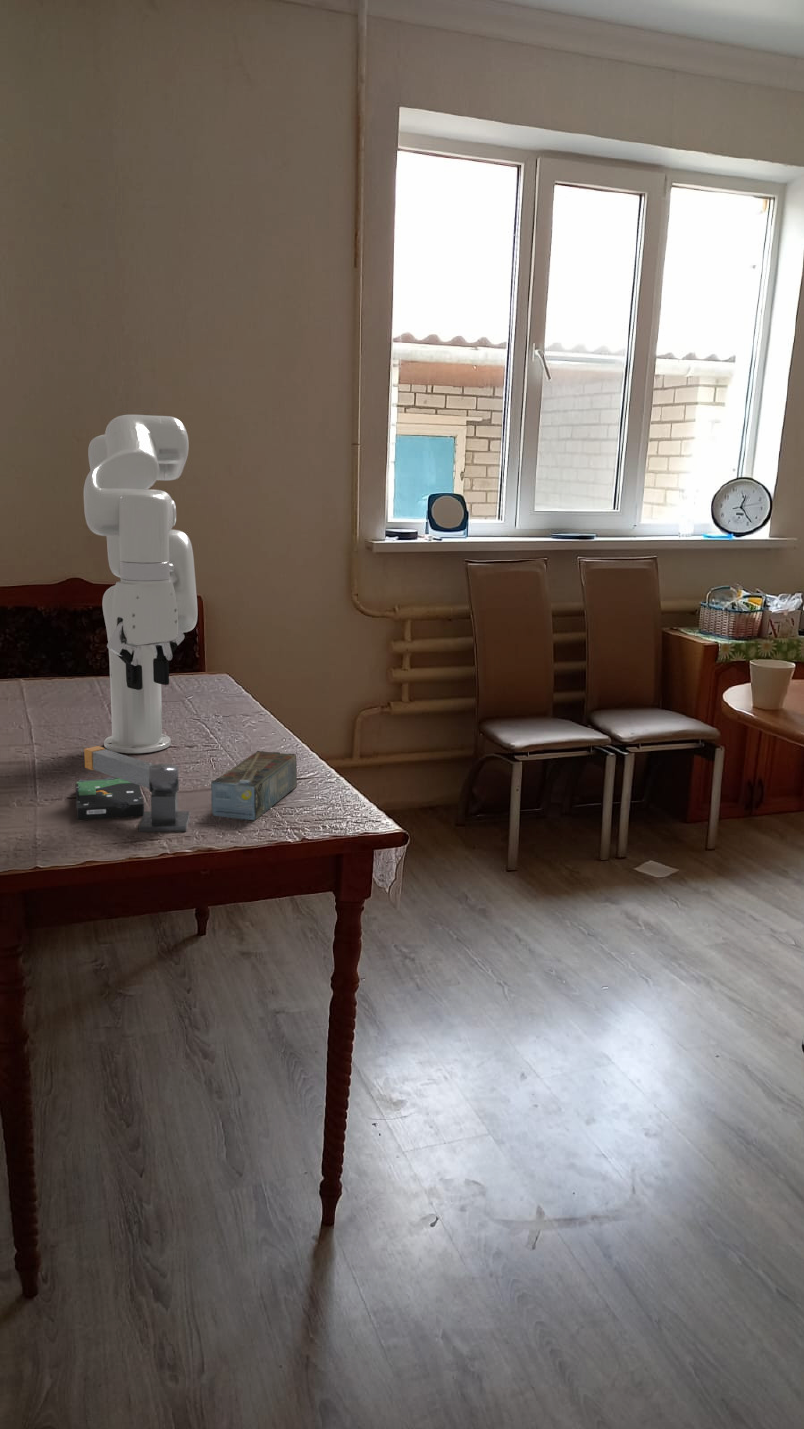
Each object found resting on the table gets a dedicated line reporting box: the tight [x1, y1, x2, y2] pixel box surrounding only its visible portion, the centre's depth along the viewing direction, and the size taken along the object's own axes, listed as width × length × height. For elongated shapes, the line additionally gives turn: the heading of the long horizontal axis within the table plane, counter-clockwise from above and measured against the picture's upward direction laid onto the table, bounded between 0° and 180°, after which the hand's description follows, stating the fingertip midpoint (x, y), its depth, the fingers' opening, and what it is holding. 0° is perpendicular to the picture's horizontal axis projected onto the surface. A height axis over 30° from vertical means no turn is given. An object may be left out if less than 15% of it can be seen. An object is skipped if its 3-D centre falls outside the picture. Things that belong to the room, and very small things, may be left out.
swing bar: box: [83, 745, 180, 794], centre depth 166 cm, size 21×4×4 cm, turn 51°
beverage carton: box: [210, 750, 298, 821], centre depth 174 cm, size 8×19×7 cm, turn 165°
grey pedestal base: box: [138, 791, 191, 833], centre depth 162 cm, size 7×7×5 cm
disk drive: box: [75, 777, 145, 821], centre depth 171 cm, size 10×3×15 cm
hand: (148, 684), depth 169 cm, fingers open, 4 cm apart
